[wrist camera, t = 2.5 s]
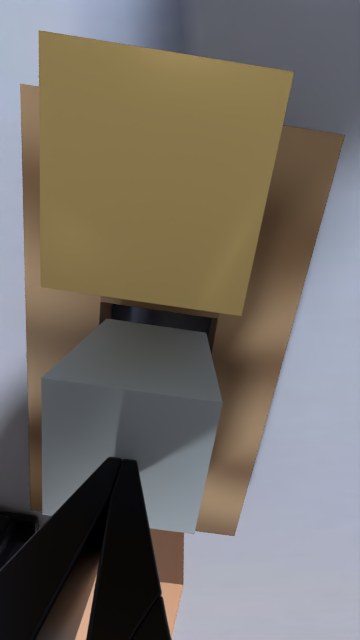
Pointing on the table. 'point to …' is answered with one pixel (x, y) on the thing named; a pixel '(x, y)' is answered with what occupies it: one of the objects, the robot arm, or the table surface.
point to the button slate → (133, 417)
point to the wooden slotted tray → (196, 311)
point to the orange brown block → (170, 576)
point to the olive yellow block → (154, 171)
